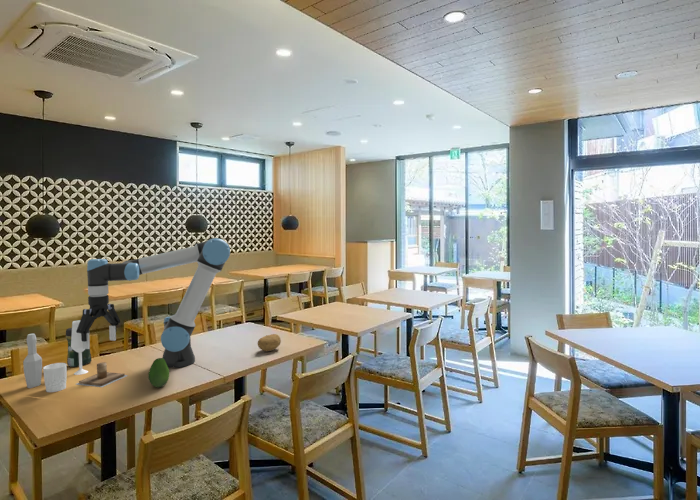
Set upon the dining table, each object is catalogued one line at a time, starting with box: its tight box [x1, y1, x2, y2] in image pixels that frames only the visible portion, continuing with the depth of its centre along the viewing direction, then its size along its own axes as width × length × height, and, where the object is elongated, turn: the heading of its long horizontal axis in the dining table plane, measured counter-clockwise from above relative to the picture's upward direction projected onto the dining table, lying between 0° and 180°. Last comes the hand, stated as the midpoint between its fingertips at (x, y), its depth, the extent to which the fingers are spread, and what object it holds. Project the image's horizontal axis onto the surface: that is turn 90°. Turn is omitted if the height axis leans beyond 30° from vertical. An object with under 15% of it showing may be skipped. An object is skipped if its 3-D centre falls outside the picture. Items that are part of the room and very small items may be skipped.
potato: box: [257, 333, 282, 352], centre depth 223 cm, size 10×14×8 cm
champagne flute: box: [71, 319, 89, 376], centre depth 190 cm, size 7×7×24 cm
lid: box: [78, 362, 126, 386], centre depth 182 cm, size 12×12×7 cm
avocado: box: [147, 357, 170, 388], centre depth 174 cm, size 8×8×12 cm
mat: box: [76, 374, 128, 388], centre depth 182 cm, size 14×14×1 cm
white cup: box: [42, 362, 68, 393], centre depth 172 cm, size 8×8×10 cm
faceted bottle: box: [22, 333, 43, 389], centre depth 176 cm, size 6×6×22 cm
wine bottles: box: [65, 327, 92, 368], centre depth 203 cm, size 10×8×19 cm
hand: (100, 344), depth 181 cm, fingers open, 13 cm apart
